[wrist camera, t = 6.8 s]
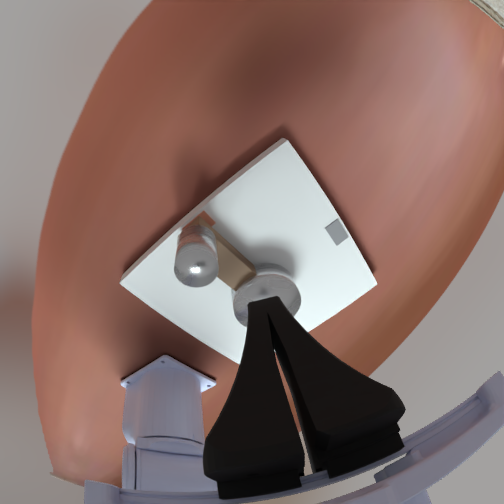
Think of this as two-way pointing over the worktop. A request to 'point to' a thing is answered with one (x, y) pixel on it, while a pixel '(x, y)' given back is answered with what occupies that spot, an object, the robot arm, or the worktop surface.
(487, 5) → the washcloth
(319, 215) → the base
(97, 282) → the worktop surface
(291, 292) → the silver piece
